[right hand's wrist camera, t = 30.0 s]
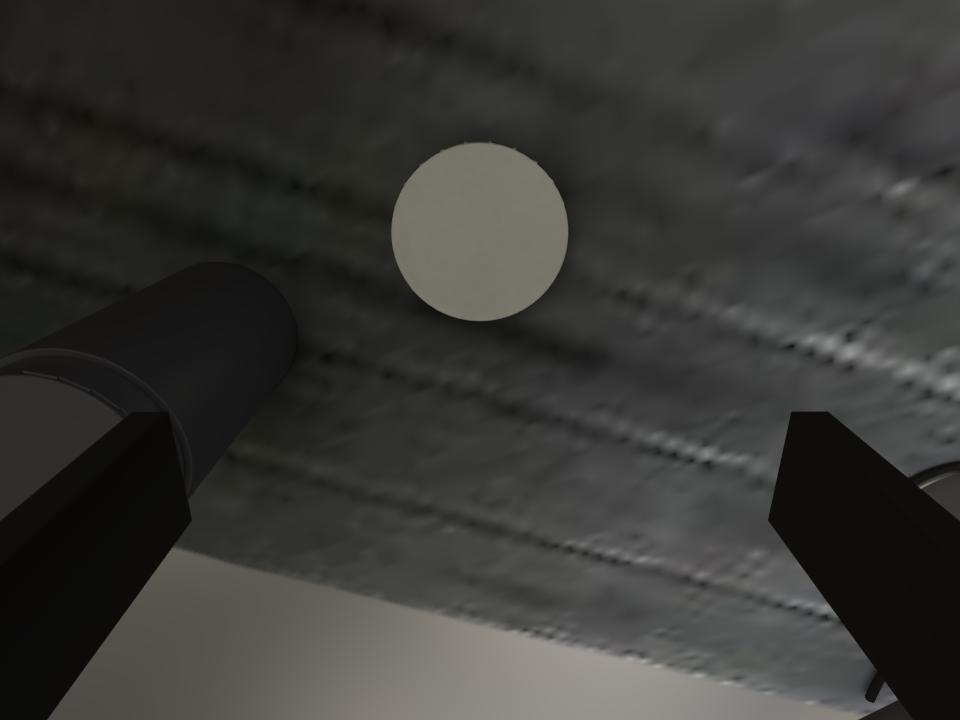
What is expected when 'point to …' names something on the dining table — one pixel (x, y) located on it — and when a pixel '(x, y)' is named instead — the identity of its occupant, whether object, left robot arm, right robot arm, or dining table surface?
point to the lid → (479, 231)
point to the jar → (146, 374)
